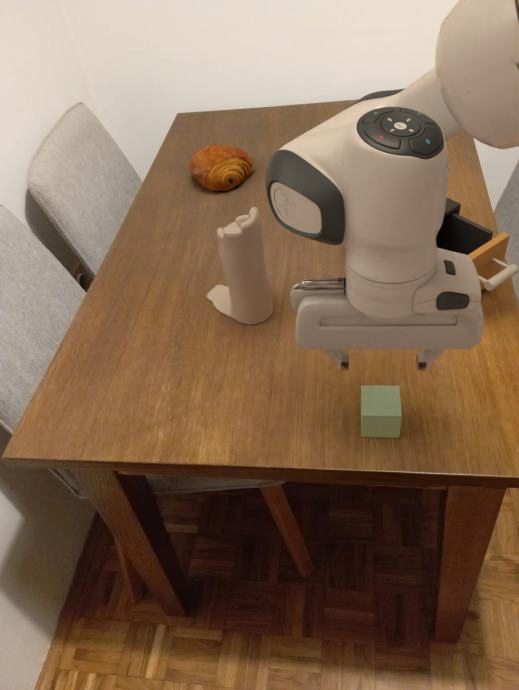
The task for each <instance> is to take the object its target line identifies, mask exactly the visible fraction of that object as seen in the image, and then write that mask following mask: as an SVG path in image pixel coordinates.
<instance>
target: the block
mask: <svg viewBox="0 0 519 690" xmlns="http://www.w3.org/2000/svg"><path fill="white" fill-rule="evenodd" d="M402 419H403V412H402V400H401V388H400V385H379V384H377V385H373V384H372V385H371V384H368V385H367V384H362V385H360V433H361V434H360V435H361V436H360V437H361V438H388V439H394V438H395V439H399V438H400V435H401V427H402Z"/></svg>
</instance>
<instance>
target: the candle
mask: <svg viewBox="0 0 519 690" xmlns="http://www.w3.org/2000/svg"><path fill="white" fill-rule="evenodd" d="M216 238H217V242H218V255H219V258H220V260H221V264H222V267H223V273H224V275H225V279H226V283H227V285H223V284H216V285H215V286H214V287H213V288H212V289H211V290H209V292H208V293H207V294H206V298H207V299H208V300H209V301H211V302H212V305H213V307H214V309H216V310H217V311H218V312H219V313H221V314H223V315H224V316H226V317H229V318H231V319H233V320H235V321H236V322H238V323H240V324H242V325H250V326H251V325H257V324H261V323H263V322H265V321H267V320H268V319H269V318H270V317H271V316H272V314H273V312H274V302H273V295H272V294H273V293H272V288H271V284H270V281H269V276H268V272H267V269H266V262H265V254H264V253H265V252H264V235H263V225H262V217H261V214H260V211H259V209H258V207H256V206H252V207H250V210H249V211H248V214H242V215H239V216H236V218H235V221H233V222H231V223H229V224H228V225H227V226H225V227H218V228H217V229H216Z"/></svg>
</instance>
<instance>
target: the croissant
mask: <svg viewBox="0 0 519 690" xmlns="http://www.w3.org/2000/svg"><path fill="white" fill-rule="evenodd" d="M253 160H254V159H252V157H251V156H250V154H249V153H248V152H247V151H246V150H244V149H243V148H239V147H237V146H232V145H229V144H223V145H221V144H215V143H214V144H211V145H208V146H206V147H204V148H200V149H199V150H198V151H197V152H196V153H194V154H193V155H192V156H191V157H190V159H189V163H188V166H187V167H188V171H189V173H190V174H191V175H192V177H193V178H194V179H195V180H196V181H197V182H198V183H199V184H201V186H202V187H204V188H205V189H208V190H210V191H216V192H217V191H222V192H226V191H229V190H232V189H233V188H235V187H237V186H238V185H240V184H242V183H243V181H245V180H246V179H248V178H249V177H250V175H251V173H252V168H253V166H254V161H253Z"/></svg>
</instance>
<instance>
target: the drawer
mask: <svg viewBox="0 0 519 690" xmlns="http://www.w3.org/2000/svg"><path fill="white" fill-rule="evenodd" d="M493 234H494V231H493V230H491V229H489V228H487V227H485V226H483V225H481V224H479V223H477V222H475V221H473V220H471V219H468V218H466V217H465V216H462V215H460V214H459V215H458V214H456V213H454V212H453V213H451V214H450V215H448V216H446V217H444V218H443V223H442V225H441V228H440V230H439V232H438V233H437V236H436V244H437V248H441V249H444V250H448V251H453V252H457V253H461V254H465V255H468V256H469V257H471V259H472V261H473V263H474V265H475V268H476V271H477V274H478V277H479V281H480V286H481V291H483V290H484V289H485V290H486V291H488V292H492V291H494V290H495V289H496V288H497V287H499V286H500V285H502V284H504V283H506V282H507V281H508V280H509V279H511V278H512V277H514V276H515V275H517V274H518V273H519V267H518V265H516V264H514V263H511V264H507V263H505V262H504V260H505V256H506V252H507V249H508V246H509V245H508V244H509V241H510V237H511V234H509V233H507V232H505V231H503V232H502V233H500V234H498V235H497V236H495V237H494V238H493Z"/></svg>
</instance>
